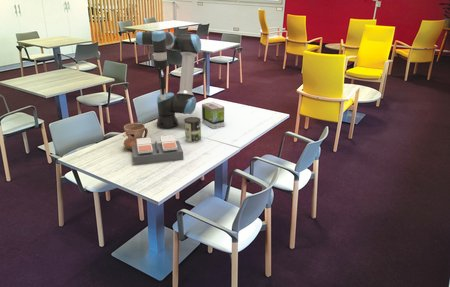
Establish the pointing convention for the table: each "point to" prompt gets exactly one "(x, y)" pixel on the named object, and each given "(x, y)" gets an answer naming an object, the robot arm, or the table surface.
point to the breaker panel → (157, 154)
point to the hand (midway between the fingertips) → (163, 99)
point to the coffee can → (192, 129)
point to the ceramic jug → (134, 134)
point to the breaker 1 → (144, 145)
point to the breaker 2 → (168, 142)
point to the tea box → (213, 115)
